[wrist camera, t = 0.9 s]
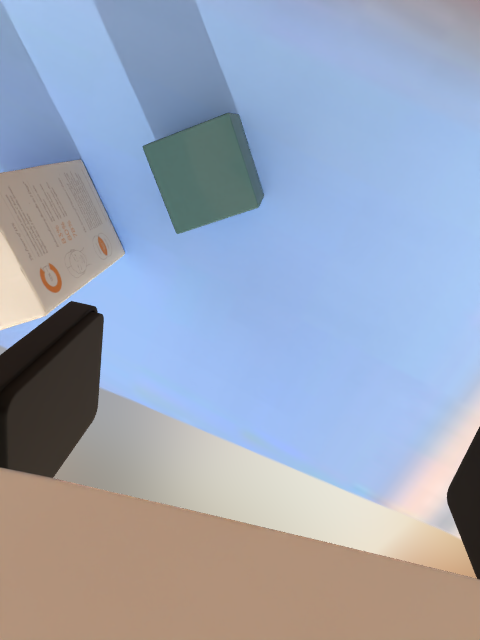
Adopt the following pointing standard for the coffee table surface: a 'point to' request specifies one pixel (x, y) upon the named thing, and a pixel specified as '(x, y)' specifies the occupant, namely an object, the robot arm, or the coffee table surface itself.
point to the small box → (50, 239)
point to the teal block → (205, 172)
